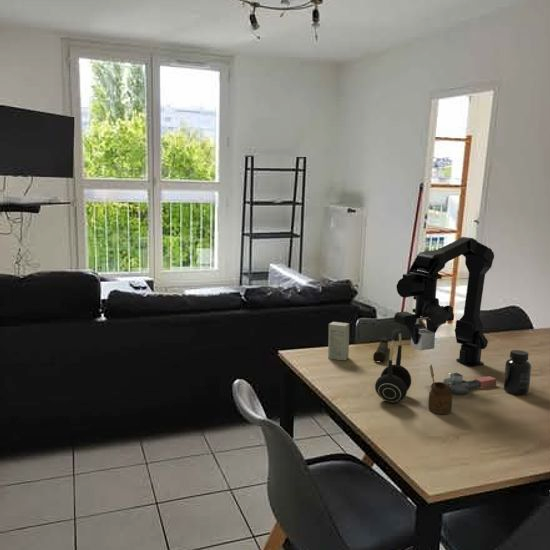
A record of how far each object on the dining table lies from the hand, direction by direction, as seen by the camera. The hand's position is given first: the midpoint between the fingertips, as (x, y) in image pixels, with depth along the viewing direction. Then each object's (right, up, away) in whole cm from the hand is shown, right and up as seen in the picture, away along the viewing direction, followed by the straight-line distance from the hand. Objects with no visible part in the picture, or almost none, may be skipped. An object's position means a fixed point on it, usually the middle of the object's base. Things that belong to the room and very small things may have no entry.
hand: (422, 343), depth 161 cm
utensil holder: (-2, -15, -22) cm, 27 cm away
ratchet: (+12, -13, -6) cm, 19 cm away
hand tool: (-8, -7, +23) cm, 26 cm away
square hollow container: (0, -1, 0) cm, 1 cm away
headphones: (-13, -14, -15) cm, 24 cm away
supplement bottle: (+25, -13, -8) cm, 30 cm away
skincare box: (-24, -8, +18) cm, 31 cm away
